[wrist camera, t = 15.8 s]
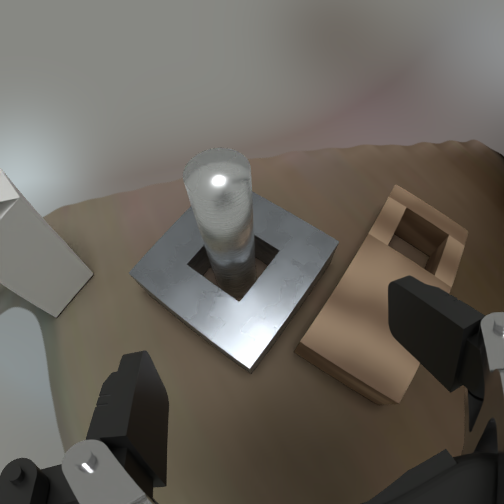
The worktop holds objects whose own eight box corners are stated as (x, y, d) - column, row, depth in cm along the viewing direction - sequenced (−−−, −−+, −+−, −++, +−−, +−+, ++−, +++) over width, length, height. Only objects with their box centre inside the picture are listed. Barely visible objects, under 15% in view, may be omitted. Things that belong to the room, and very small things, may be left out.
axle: (233, 254, 33) (213, 139, 19) (263, 274, 32) (264, 164, 18) (209, 282, 32) (169, 178, 18) (240, 304, 31) (220, 209, 17)
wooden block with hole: (382, 210, 36) (395, 184, 31) (448, 252, 33) (468, 231, 28) (293, 351, 28) (299, 341, 24) (378, 404, 25) (399, 403, 21)
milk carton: (66, 242, 35) (-21, 139, 18) (95, 274, 33) (-6, 165, 16) (32, 282, 32) (-69, 196, 16) (57, 318, 30) (-63, 236, 13)
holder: (226, 200, 37) (222, 175, 33) (330, 262, 33) (339, 241, 29) (144, 290, 32) (128, 272, 28) (251, 373, 28) (249, 368, 24)
